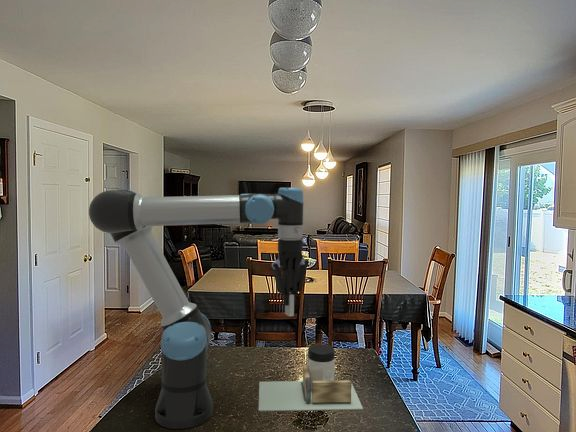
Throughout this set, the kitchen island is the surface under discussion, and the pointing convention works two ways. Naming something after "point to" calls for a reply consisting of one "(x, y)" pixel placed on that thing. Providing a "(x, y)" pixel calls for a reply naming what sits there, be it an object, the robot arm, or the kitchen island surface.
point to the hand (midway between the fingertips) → (289, 315)
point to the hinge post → (308, 390)
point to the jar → (321, 363)
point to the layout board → (297, 398)
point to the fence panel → (305, 376)
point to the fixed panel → (331, 391)
